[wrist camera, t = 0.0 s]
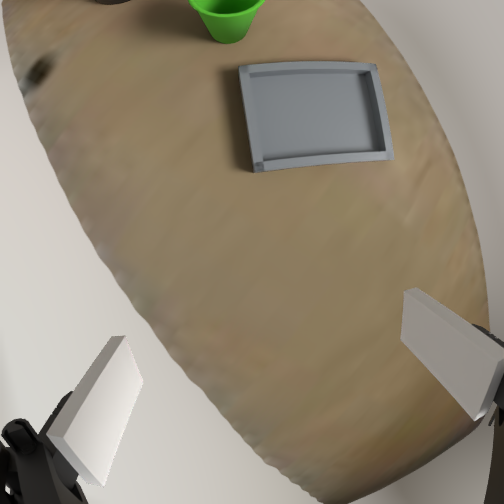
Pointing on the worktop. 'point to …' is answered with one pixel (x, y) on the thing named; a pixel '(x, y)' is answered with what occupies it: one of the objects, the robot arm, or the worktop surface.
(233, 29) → the cup
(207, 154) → the worktop surface
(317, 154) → the grey tray
